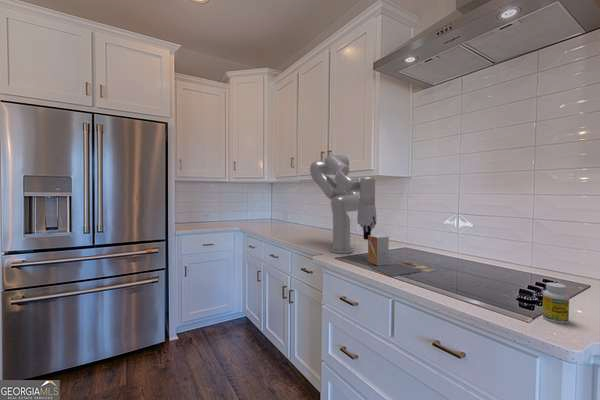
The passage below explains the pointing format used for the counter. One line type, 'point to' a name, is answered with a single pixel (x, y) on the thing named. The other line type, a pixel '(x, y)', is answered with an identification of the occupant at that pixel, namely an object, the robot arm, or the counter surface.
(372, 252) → the small box
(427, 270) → the turner
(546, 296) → the supplement bottle
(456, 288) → the counter surface
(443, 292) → the counter surface
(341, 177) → the robot arm
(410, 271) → the mat
